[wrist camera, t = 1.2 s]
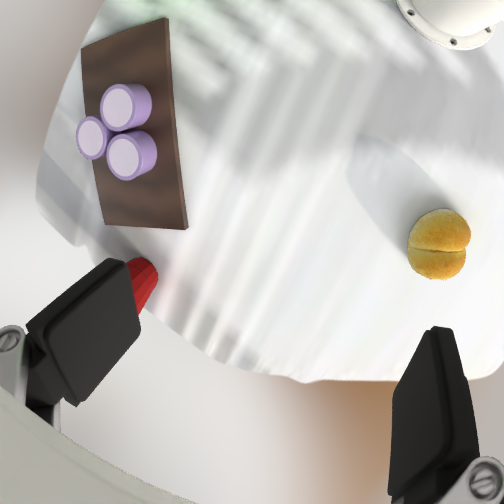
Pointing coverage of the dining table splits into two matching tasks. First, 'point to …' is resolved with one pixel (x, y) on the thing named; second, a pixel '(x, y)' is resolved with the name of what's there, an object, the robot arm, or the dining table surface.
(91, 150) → the lavender cylinder puck
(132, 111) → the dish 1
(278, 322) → the dining table surface
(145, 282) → the plastic cup
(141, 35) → the board
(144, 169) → the lavender round puck
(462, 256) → the bread roll
